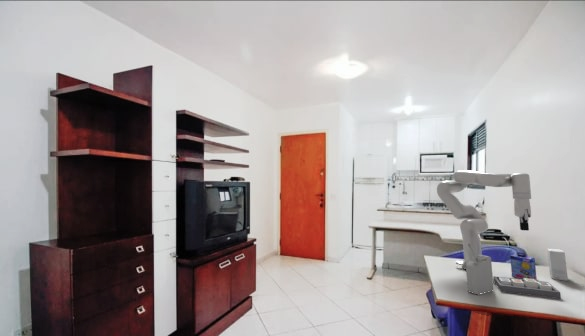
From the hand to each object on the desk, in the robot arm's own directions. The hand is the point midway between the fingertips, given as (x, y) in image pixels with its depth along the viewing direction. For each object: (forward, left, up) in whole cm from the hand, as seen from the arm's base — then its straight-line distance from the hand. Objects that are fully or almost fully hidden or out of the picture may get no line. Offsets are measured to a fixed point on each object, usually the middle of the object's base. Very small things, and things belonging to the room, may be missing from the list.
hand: (524, 230), depth 141 cm
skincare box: (+18, +19, -29) cm, 39 cm away
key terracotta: (-7, -8, -28) cm, 30 cm away
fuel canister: (-25, -20, -29) cm, 43 cm away
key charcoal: (+4, -8, -28) cm, 29 cm away
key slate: (-12, -8, -28) cm, 32 cm away
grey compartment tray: (-4, -8, -29) cm, 30 cm away
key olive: (-1, -8, -27) cm, 28 cm away
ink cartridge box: (+1, +12, -29) cm, 32 cm away
